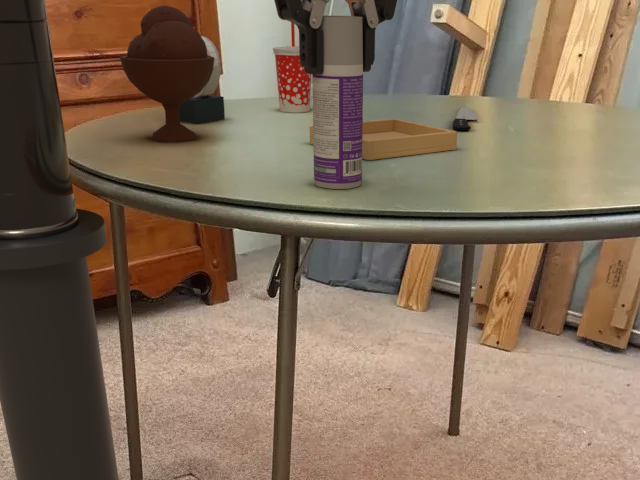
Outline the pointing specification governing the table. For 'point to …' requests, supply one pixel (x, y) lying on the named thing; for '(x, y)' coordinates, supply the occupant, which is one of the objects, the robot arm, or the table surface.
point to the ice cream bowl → (168, 66)
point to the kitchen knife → (464, 119)
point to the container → (339, 105)
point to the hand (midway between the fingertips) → (337, 71)
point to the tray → (401, 139)
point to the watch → (205, 96)
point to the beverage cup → (292, 78)
